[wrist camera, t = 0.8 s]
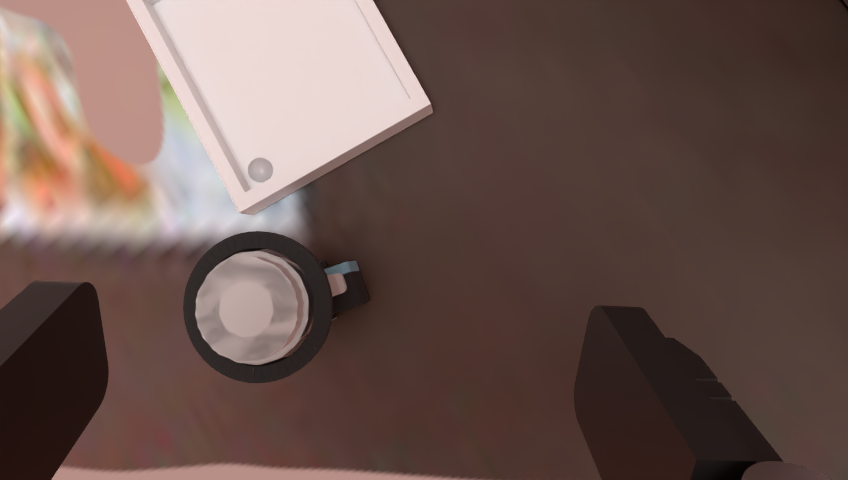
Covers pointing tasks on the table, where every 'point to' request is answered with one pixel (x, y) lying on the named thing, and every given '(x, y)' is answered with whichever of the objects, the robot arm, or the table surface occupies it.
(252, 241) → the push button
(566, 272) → the table surface
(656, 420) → the robot arm
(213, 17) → the white button tray
